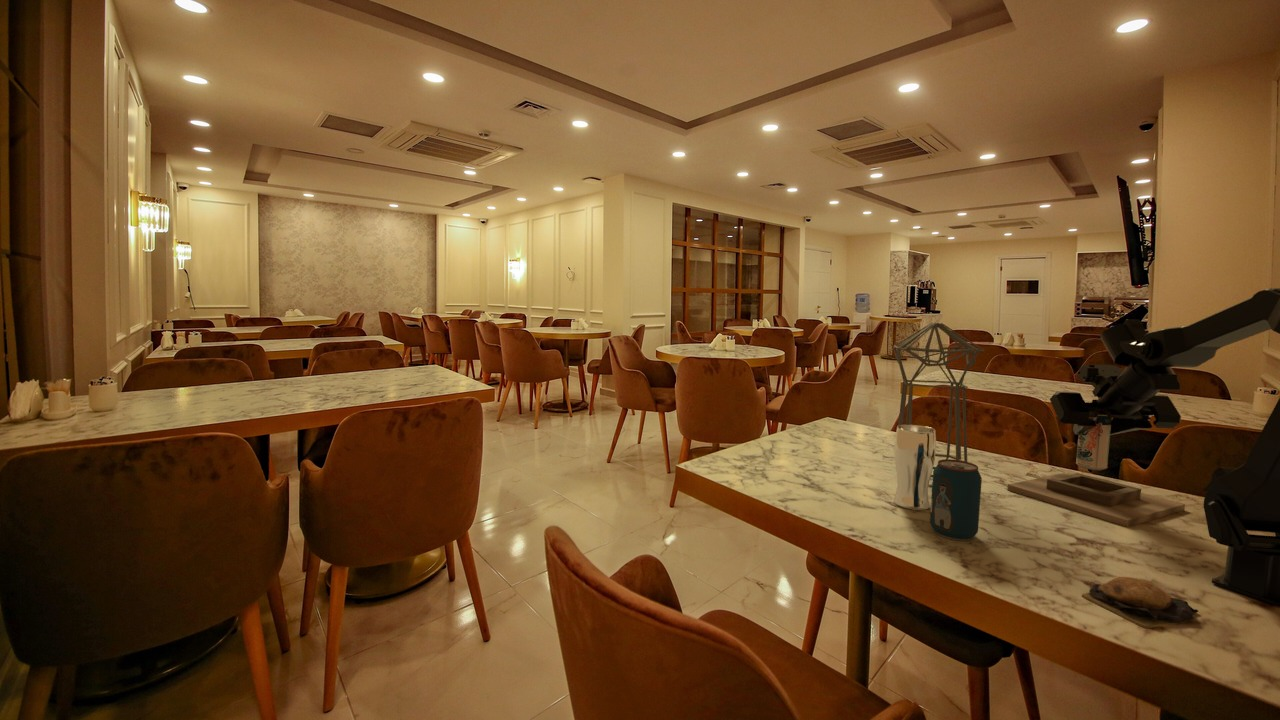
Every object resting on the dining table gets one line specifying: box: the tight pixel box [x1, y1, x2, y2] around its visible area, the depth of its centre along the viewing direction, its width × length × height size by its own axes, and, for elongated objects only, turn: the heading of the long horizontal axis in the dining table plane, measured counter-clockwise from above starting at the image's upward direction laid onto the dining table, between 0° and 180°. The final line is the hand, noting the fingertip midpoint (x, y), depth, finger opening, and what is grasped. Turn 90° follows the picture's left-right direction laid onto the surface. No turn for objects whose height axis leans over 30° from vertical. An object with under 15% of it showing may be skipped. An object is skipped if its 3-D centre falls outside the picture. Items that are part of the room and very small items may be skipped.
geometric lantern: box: [892, 322, 985, 488], centre depth 112 cm, size 16×16×35 cm
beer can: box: [1075, 416, 1113, 471], centre depth 102 cm, size 5×5×12 cm
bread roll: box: [1081, 576, 1199, 629], centre depth 66 cm, size 11×8×4 cm
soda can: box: [929, 458, 983, 542], centre depth 86 cm, size 7×7×12 cm
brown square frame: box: [1006, 472, 1186, 528], centre depth 103 cm, size 20×20×3 cm
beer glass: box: [893, 424, 937, 511], centre depth 99 cm, size 7×7×15 cm
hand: (1089, 433), depth 103 cm, fingers closed on beer can, 5 cm apart
